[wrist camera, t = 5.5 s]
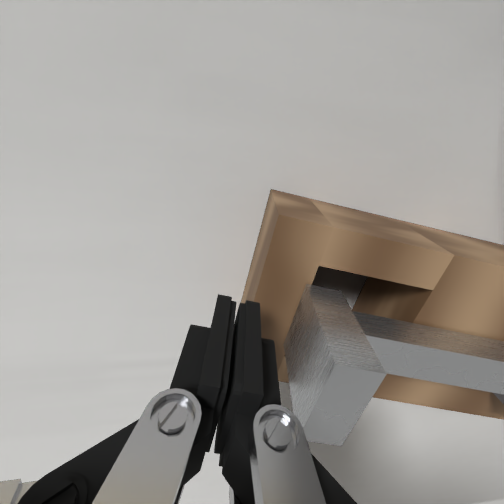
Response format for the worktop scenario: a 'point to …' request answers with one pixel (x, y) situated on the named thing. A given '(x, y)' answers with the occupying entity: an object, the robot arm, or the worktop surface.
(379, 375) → the lock pin
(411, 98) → the worktop surface
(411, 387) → the socket block
